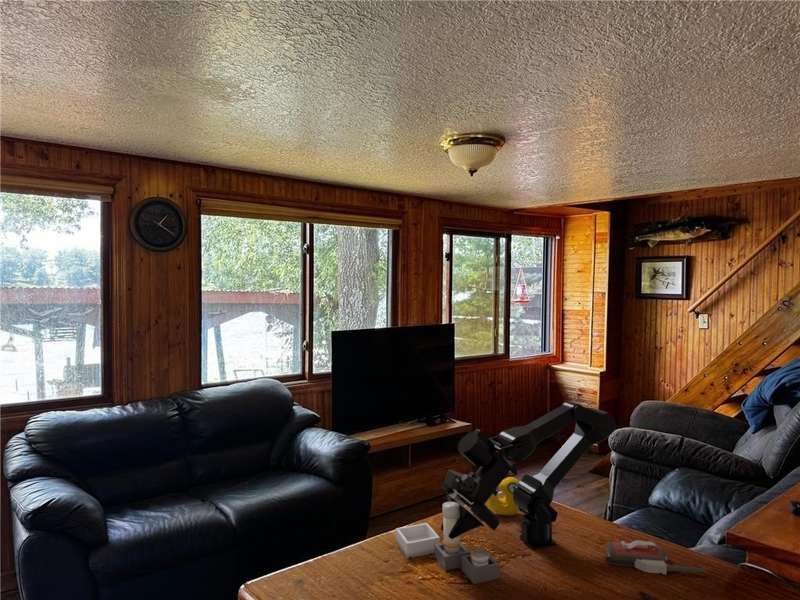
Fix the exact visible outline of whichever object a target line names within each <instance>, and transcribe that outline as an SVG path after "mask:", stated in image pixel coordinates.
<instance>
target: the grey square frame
mask: <svg viewBox="0 0 800 600" xmlns="http://www.w3.org/2000/svg"><path fill="white" fill-rule="evenodd" d="M434 552H435V553H434V559H435V558H436V559H437V560H436V559H435V560H436V562H438V564H439V563H440V564H439V565H440V566H441V567H442V568H443V570H444V571H449V570H455V569H459V568H461V556H465V555H470V554H471V551H469V550H468V548H467V547H466V546H465V545H464V544H463V543H462V542H461V541H460V553H455V554H450V555H446V554H445V553H444V542H442V543H441V542H440V544H435V545H434Z"/></svg>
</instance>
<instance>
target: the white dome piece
mask: <svg viewBox="0 0 800 600" xmlns="http://www.w3.org/2000/svg"><path fill="white" fill-rule="evenodd" d="M470 554H471V560H472V565H473V566H474V567H475V568H476V567H481V566H485V565H488V561H489V555H490V554H489V552H488V551H486V550H485V549H480V548H479V549H473V550H472V551H470Z"/></svg>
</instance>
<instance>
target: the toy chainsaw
mask: <svg viewBox="0 0 800 600" xmlns="http://www.w3.org/2000/svg"><path fill="white" fill-rule="evenodd" d="M665 551H666V550H665V549H664V548H663V549H662V548H661V546H660V545H659V544H656V543H655V542H654V541H651V540H650V541H649V540H647V541H645V540H633V541H631V542H626V541H624V540H621V541H620V542H619V541H607V542H606V553H607V556H605V558H604V561H605V562H606V563H607V564H610V565H613V566H617V567H618V566H619V567H631V568H633V567H634V568H636V569H637V570H640V571H642V572H644V573H647V572H648V573H651V574H659V573H662V574H661V575H667V573H668V572H670V573H671V572H681V573H692V572H695V573H697V572H698V573H706V572H707V571H706V569H705V568H703V567H693V566H692V567H691V566H679V565H672V564H668V563H666V562H667V561H668V558H667V556H666V553H665ZM648 573H647V574H648Z"/></svg>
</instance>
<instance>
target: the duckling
mask: <svg viewBox="0 0 800 600" xmlns="http://www.w3.org/2000/svg"><path fill="white" fill-rule="evenodd" d="M519 482H520V480H519V479H517V478H516V477H514V476H508V477H506V478H504V479H503V480H502V482H501V483H500V484H499V486H498V488H499V490H500V491H501V493H502V494H503V495H504V496H503V497H501V498H500V497H498V494H497V495H496V496H495V495H493V494H492V495H491V497H490V498H489V499H488V501H487V502H486V503H487V507H488V509H490V510H491V511H492V512H493V513H494V514H496V515H497V514H498V515H500V516H513V515H516V514H517V513H518V512H520V511H519V508H518V506H517V505H516V504H515V503H514V500H513V491H514V489H515V488H516V487H517V486H516V485H515V484H517V483H519Z"/></svg>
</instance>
